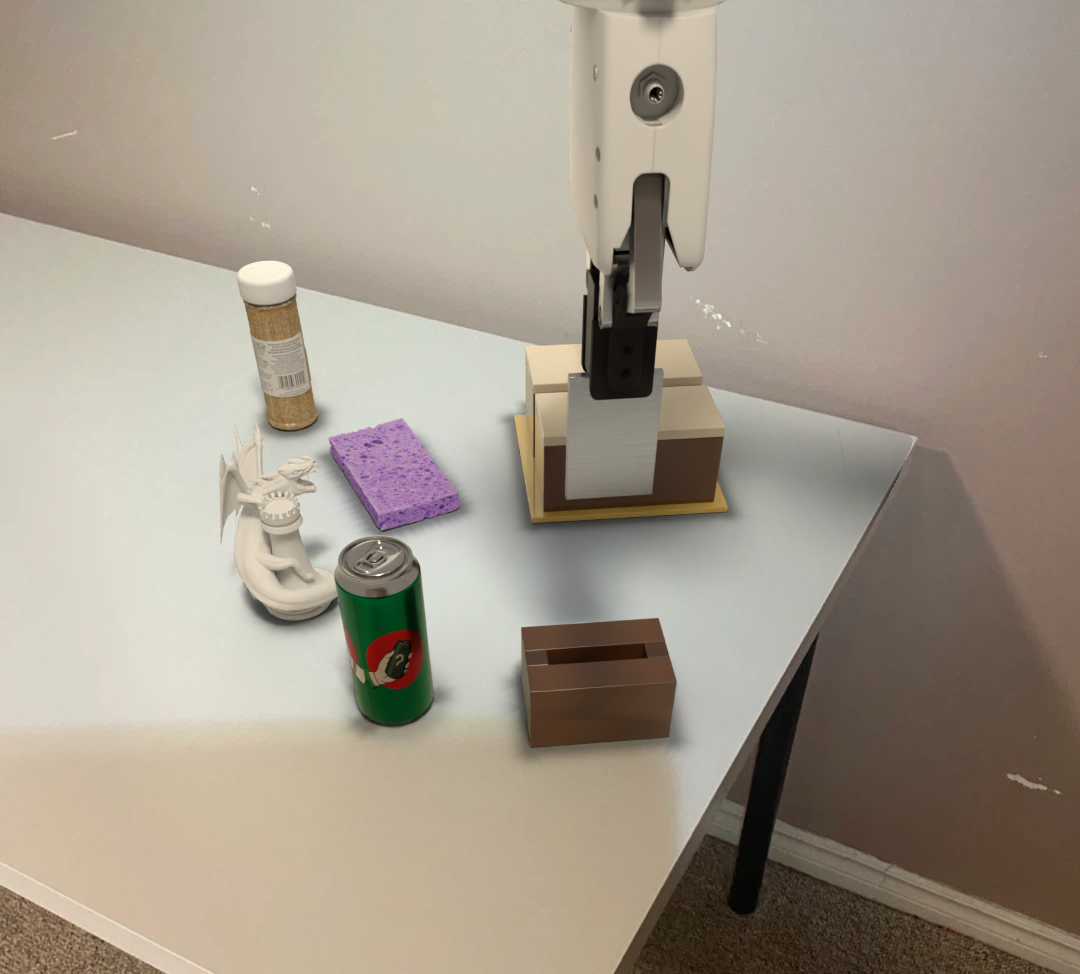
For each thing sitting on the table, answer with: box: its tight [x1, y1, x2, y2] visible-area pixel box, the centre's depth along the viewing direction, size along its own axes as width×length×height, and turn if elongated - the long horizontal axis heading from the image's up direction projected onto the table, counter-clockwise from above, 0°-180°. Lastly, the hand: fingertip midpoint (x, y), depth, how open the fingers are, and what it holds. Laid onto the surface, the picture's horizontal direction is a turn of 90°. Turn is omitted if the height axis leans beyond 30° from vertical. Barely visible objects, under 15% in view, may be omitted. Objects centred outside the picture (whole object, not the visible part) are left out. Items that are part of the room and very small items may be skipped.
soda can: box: [333, 534, 434, 725], centre depth 63 cm, size 5×5×12 cm
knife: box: [565, 269, 664, 500], centre depth 54 cm, size 5×2×12 cm, turn 97°
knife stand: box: [520, 617, 678, 748], centre depth 65 cm, size 9×6×5 cm, turn 96°
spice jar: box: [236, 260, 318, 431], centre depth 87 cm, size 5×5×13 cm
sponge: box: [328, 417, 460, 531], centre depth 85 cm, size 7×13×2 cm, turn 26°
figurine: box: [219, 421, 338, 622], centre depth 72 cm, size 11×8×12 cm
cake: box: [513, 338, 729, 524], centre depth 85 cm, size 16×16×7 cm
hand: (615, 380), depth 53 cm, fingers closed on knife, 2 cm apart
